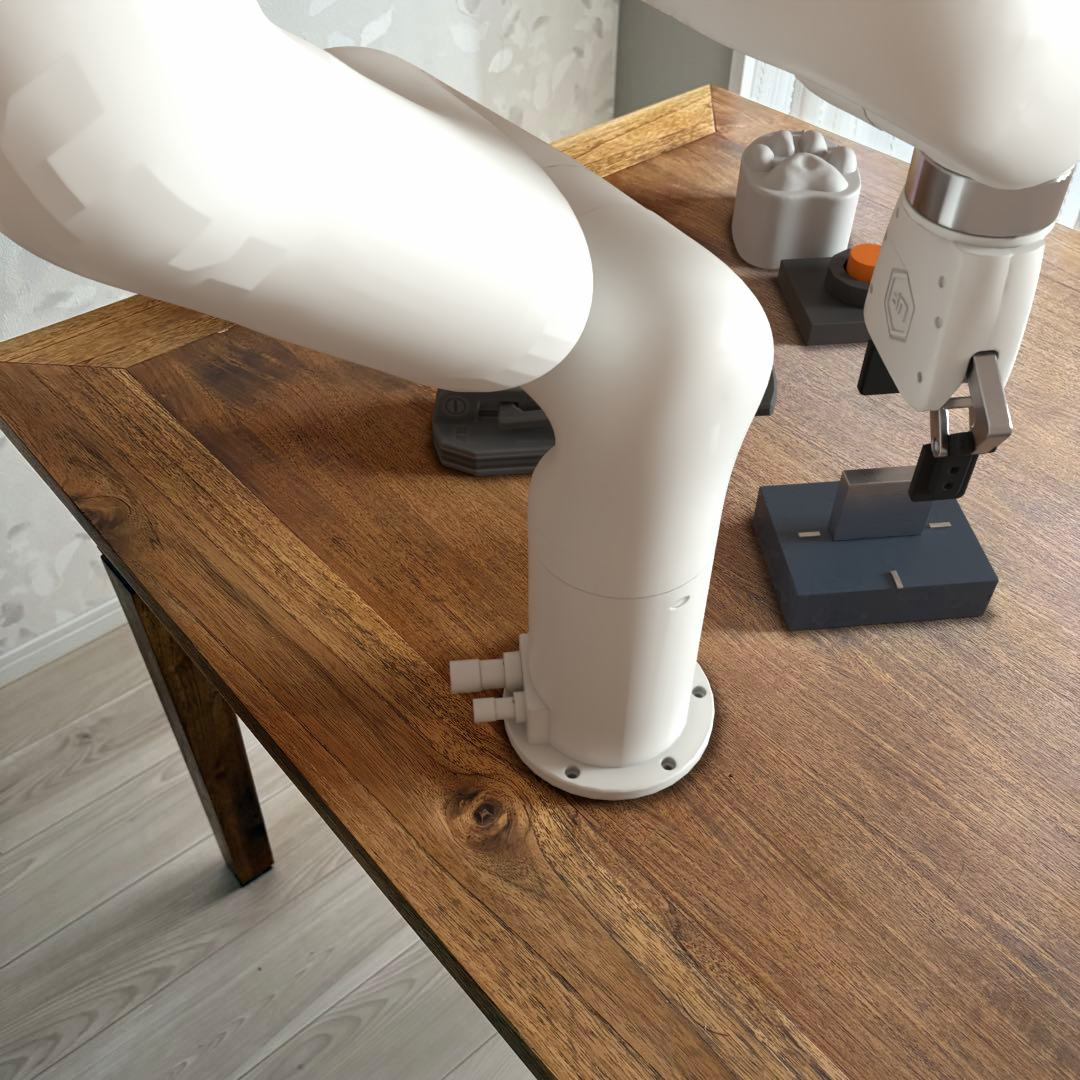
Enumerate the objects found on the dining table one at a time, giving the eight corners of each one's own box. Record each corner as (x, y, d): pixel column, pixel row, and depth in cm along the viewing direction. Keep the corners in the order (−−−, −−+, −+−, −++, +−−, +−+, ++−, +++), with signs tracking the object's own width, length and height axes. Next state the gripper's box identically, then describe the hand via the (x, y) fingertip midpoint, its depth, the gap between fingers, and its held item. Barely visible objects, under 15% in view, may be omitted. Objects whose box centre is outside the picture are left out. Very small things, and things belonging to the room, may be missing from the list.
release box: (806, 346, 93) (815, 306, 90) (776, 280, 100) (784, 241, 97) (945, 338, 94) (958, 298, 91) (906, 273, 101) (917, 234, 98)
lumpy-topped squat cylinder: (737, 268, 101) (751, 180, 95) (726, 197, 110) (737, 112, 104) (852, 271, 101) (873, 182, 95) (831, 199, 110) (849, 114, 104)
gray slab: (833, 541, 72) (849, 481, 68) (827, 526, 73) (842, 466, 69) (922, 534, 72) (944, 475, 69) (915, 519, 73) (936, 460, 70)
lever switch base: (788, 632, 71) (798, 594, 69) (751, 521, 78) (759, 483, 76) (984, 617, 72) (1001, 579, 70) (929, 508, 79) (943, 470, 77)
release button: (853, 285, 93) (857, 267, 92) (840, 262, 95) (844, 244, 94) (895, 283, 93) (899, 265, 92) (881, 260, 96) (885, 242, 94)
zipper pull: (785, 410, 76) (423, 404, 77) (770, 481, 81) (429, 475, 81) (769, 334, 83) (434, 328, 83) (756, 404, 87) (439, 398, 88)
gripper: (859, 108, 61) (808, 359, 73) (977, 284, 49) (892, 549, 61) (991, 100, 61) (918, 351, 74) (1140, 273, 49) (1023, 538, 62)
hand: (906, 441), depth 68 cm, fingers open, 9 cm apart
